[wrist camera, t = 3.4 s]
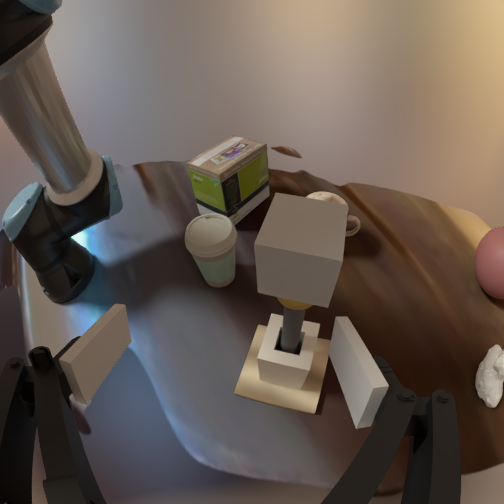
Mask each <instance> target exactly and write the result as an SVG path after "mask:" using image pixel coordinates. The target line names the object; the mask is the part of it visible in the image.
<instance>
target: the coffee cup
mask: <svg viewBox="0 0 504 504" xmlns="http://www.w3.org/2000/svg"><path fill="white" fill-rule="evenodd" d="M236 239H237V231H236V229H235V226H234V225H233V224H232V222H231V221H230V219H229V218H227V217H226V216H224V215H222V214H217V213H209V214H204V215H201V216H199V217H197V218H195V219H194V220H192V221H191V222H190V223H189V225H188V226H187V229H186V234H185V245H186V248H187V249H188V251H189V252H190V253H191V254H192V256H193V258H194V260H195V262H196V264H197V265H198V267H199V269H200V271H201V273H202V275H203V277H204V279H205V280H206V282H207V283H208V284H209V285H210V286H213V287H224V286H227V285H228V284H230V283H231V282H232V281H233V279H234V277H235V242H236Z"/></svg>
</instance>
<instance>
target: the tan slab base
mask: <svg viewBox="0 0 504 504" xmlns="http://www.w3.org/2000/svg"><path fill="white" fill-rule="evenodd" d="M266 329H267V326H263V325H259V324H258V327H257V330H256V333H255V336H254V339H253V341H252V344H251V347H250V350H249V353H248V356H247V358H246V361H245V364H244V367H243V370H242V372H241V375H240V378H239V381H238V383H237V386H236V389H235V392H234V394H235V395H238V396H241V397H244V398H248V399H251V400H255V401H259V402H262V403H266V404H270V405H274V406H278V407H282V408H287V409H291V410H296V411H300V412H305V413H310V414H315V411H316V408H317V404H318V400H319V396H320V392H321V388H322V383H323V379H324V375H325V370H326V366H327V361H328V356H329V354H328V353H329V348H330V344H331V340H326V339H321V338H317V341H316V346H315V350H314V354H313V359H312V363H311V367H310V371H309V373H308V375H307V377H306V379H305V381H304V383H303V385H302V387H301V389H295V388H291V387H286V386H282V385H278V384H274V383H270V382H266V381H262V380H260V377H259V370H258V362H257V356H258V353H259V350H260V347H261V344H262V341H263V338H264V335H265V332H266Z"/></svg>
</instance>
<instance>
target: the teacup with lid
mask: <svg viewBox="0 0 504 504" xmlns="http://www.w3.org/2000/svg"><path fill="white" fill-rule="evenodd" d="M307 198H312V199H318V200H324V201H329V202H334V203H340V204H345V205H347V204H346V202H345V201H344V200H343V199H342V198H341V197H339V196H337V195H335V194H333V193H329V192H315V193H312V194H310V195H308V196H307ZM347 221H353V222H355V223H356V224H357V225H356V227H355V228H354V229H352V230H350V231H346V234H345V236H352V235H354V234H356V233H357V232H358V231H359V229H360V221H359V219H358V218H357V217H355V216H351V215H349V209H348V210H347Z"/></svg>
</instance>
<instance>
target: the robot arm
mask: <svg viewBox="0 0 504 504" xmlns="http://www.w3.org/2000/svg"><path fill="white" fill-rule="evenodd" d="M61 4H62V0H0V116H1V117H2V119H3V121H4V122H5V124H6V125H7V127H8V128H9V130H10V131H11V133H12V134H13V136H14V137H15V139H16V140H17V142H18V143H19V145H20V146H21V147H22V149H23V150H24V152H25V153H26V154H27V156H28V157H29V159H30V160H31V161H32V163H33V164H34V165H35V167H36V168H37V169H38V170H39V172H40V173H41V174H42V176H43V177H44V178H45V179H46V181H47V185H46V186H45V187H42V184H40V183H39V182H35V183H32V184H30V185H28V186H27V187H26V188H24V189H23V190H22V191H21V192H20V193H19V194H18V195H17V196H16V197H15V198H14V200H13V201H12V202H11V204H10V205H9V207H8V208H7V210H6V212H5V214H4V216H3V221H2V225H3V229H4V230H5V232H6V234H7V236H8V237H9V240H10V241H11V242H12V243H13V244H14V246H15V247H16V248H17V250H18V251H19V252H20V254H21V255H22V256H23V257H24V259H25V260H26V261H27V262H28V264H29V265H30V266H31V267H32V269H33V270H34V271H35V273H36V275H37V278H38V280H39V283H40V285H41V287H42V290H43V292H44V293H45V294H46V295H47V297H48V298H49V299H50V300H52V301H53V302H56V303H63V302H67V301H69V300H71V299H73V298H75V297H76V296H77V295H79V294H80V293H81V292H82V291H83V290H84V288H85V287H86V286H87V285H88V283H89V281H90V280H91V277H92V275H93V272H94V260H93V257H92V256H91V254H90V253H89V251H88V250H87V249H86V248H84V247H83V246H81V245H80V244H79V243H77V242H76V241H75V240H73V239H72V238H71V236H73V235H75V234H77V233H79V232H81V231H83V230H85V229H87V228H89V227H91V226H93V225H95V224H97V223H99V222H102V221H104V220H107V219H109V218H110V217H111V216H113V215H115V214H117V213H119V212H120V211H121V209H122V207H123V203H122V198H121V194H120V190H119V187H118V183H117V179H116V175H115V171H114V168H113V164H112V161H111V158H110V157H109V156H102V157H100V155H99V154H98V153H97V152H96V151H94V150H91V149H87V148H86V146H85V144H84V142H83V140H82V137H81V135H80V133H79V131H78V129H77V127H76V124H75V122H74V120H73V117H72V115H71V113H70V111H69V108H68V106H67V103H66V101H65V98H64V96H63V93H62V91H61V88H60V86H59V83H58V80H57V78H56V75H55V72H54V69H53V66H52V64H51V61H50V58H49V55H48V51H47V48H46V45H45V42H44V40H45V37H46V35H47V34H48V32H49V30H50V29H51V27H52V25H53V21H52V16H51V14H52V13H54V12H55V11H56V10H57V9H58V8H59V7H60V6H61ZM131 341H132V340H131V335H130V329H129V324H128V318H127V311H126V305H124V304H116V303H115V304H114V305H113V306H112V307H111V308H110V309H109V310H108V311H107V312H106V313H105V314H104V315H103V316H102V317H101V318H100V319H99V320H98V321H97V322H95V323H94V324H93V325H92V326H91V327H90V328H89V329H88V330H87V331H86V332H85V333H84V334H83V335H82V336H78V337H76V338H74V339H72V340H71V341H70V342H69V343H68V344H67V345H66V346H65V347H64V348H63V349H62V350H61V351H60V352H59V353H58V354H57V355H56V356H55V357H54V358H52V355H51V352H50V350H49V348H47V347H44V346H40V347H36V348H34V349H32V350H31V351H30V352H29V354H28V356H29V358H30V361H31V363H32V366H33V367H32V366H26V365H25V363H24V360H23V359H21V358H19V357H15V358H11V359H10V360H9V361H7V363H6V364H5V366H4V369H3V371H2V373H1V376H0V504H32V463H33V452H34V442H35V434H36V427H37V429H38V436H39V442H40V448H41V453H42V458H43V463H44V468H45V472H46V477H47V479H46V480H43V487H44V491H45V494H46V498H47V501H48V504H106V502H105V500H104V498H103V495H102V493H101V491H100V489H99V487H98V484H97V482H96V479H95V477H94V475H93V472H92V470H91V467H90V464H89V462H88V459H87V456H86V453H85V450H84V447H83V444H82V441H81V438H80V434H79V431H78V428H77V424H76V420H75V416H74V412H73V408H72V404H71V401H70V399H69V396H70V395H71V394H73V396H74V398H75V400H76V401H78V402H81V403H83V404H86V405H87V404H88V403H89V401H90V400H91V398H92V397H93V395H94V394H95V392H96V391H97V389H98V388H99V386H100V385H101V383H102V382H103V381H104V379H105V378H106V376H107V375H108V373H109V372H110V370H111V369H112V368H113V366H114V365H115V363H116V362H117V361H118V359H119V358H120V356H121V355H122V354H123V352H124V351H125V349H126V348H127V347H128V345H129V344H130V343H131ZM328 354H329V356H330V359H331V361H332V364H333V367H334V369H335V372H336V375H337V377H338V380H339V383H340V385H341V388H342V391H343V394H344V396H345V399H346V402H347V405H348V407H349V410H350V413H351V416H352V419H353V421H354V424H355V427H356V429H357V428H364V427H370V426H371V424H372V422H373V420H374V419H375V421H376V425H375V426H374V428H373V430H372V432H371V433H370V435H369V437H368V438H367V440H366V442H365V443H364V445H363V446H362V448H361V450H360V451H359V453H358V454H357V456H356V457H355V459H354V460H353V462H352V463H351V465H350V466H349V468H348V469H347V470H346V472H345V473H344V475H343V476H342V477H341V479H340V480H339V481H338V483H337V484H336V485H335V487H334V488H333V489H332V491H331V492H330V493H329V495H328V496H327V497H326V498H325V499H324V500H323V502H322V503H321V504H368V503H369V501H370V500H371V498H372V496H373V495H374V493H375V491H376V490H377V488H378V486H379V484H380V483H381V481H382V479H383V477H384V475H385V473H386V472H387V470H388V468H389V466H390V464H391V462H392V460H393V458H394V456H395V454H396V452H397V449H398V447H399V445H400V443H401V441H402V438H403V436H411V438H410V449H409V458H408V466H407V473H406V479H405V485H404V491H403V496H402V501H401V504H460V494H461V454H460V439H459V428H458V419H457V411H456V404H455V398H454V396H453V395H452V393H451V392H449V391H447V390H444V389H438V390H435V391H434V392H433V393H432V395H431V397H418V396H417V395H416V393H415V392H414V391H413V390H411V389H409V388H404V387H403V386H402V385H401V383H400V382H399V380H398V378H397V377H396V375H395V374H394V372H393V371H392V369H391V367H390V366H389V364H388V363H387V361H386V360H385V359H383V358H382V357H381V356H379V355H378V356H371V354H370V353H369V351H368V349H367V348H366V346H365V344H364V343H363V341H362V339H361V338H360V336H359V334H358V333H357V331H356V330H355V328H354V326H353V325H352V323H351V322H350V320H349V318H348V317H336V318H335V323H334V329H333V334H332V339H331V344H330V348H329V353H328Z"/></svg>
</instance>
